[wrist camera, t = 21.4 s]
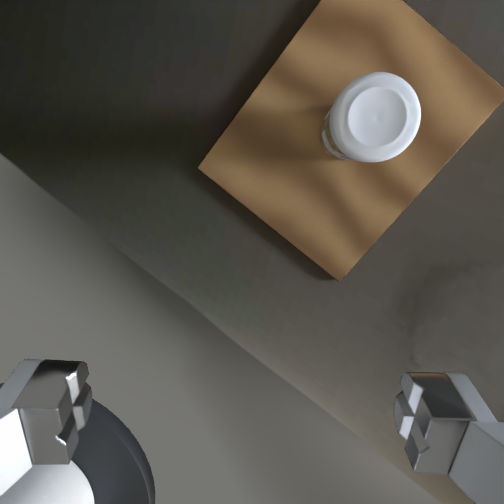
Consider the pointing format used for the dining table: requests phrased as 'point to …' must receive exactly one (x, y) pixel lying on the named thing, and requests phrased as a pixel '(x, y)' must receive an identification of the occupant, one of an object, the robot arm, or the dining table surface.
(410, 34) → the wooden board
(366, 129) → the sprinkles bottle
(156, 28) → the dining table surface
